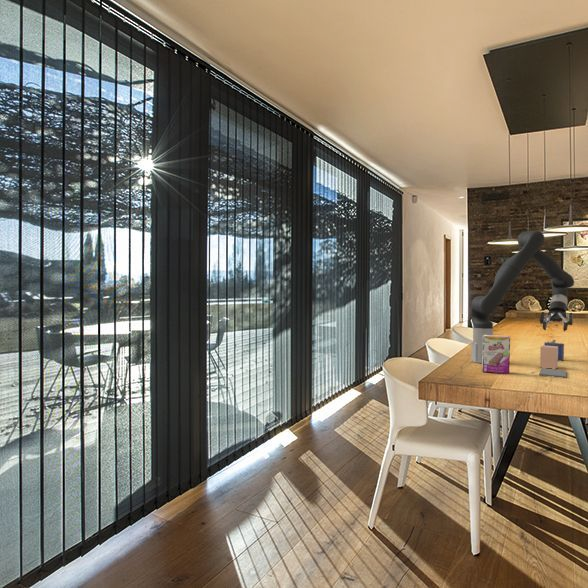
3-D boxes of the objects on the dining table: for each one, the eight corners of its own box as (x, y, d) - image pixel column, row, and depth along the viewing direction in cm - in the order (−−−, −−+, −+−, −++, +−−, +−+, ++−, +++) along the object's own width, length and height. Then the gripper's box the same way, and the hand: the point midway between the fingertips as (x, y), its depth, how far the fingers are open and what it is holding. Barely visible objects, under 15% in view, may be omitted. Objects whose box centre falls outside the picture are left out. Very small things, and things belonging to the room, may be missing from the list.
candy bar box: (482, 372, 212) (482, 335, 212) (481, 370, 217) (482, 334, 216) (509, 374, 208) (510, 336, 208) (508, 372, 213) (509, 335, 213)
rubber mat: (565, 378, 200) (565, 376, 200) (539, 375, 205) (539, 373, 205) (566, 372, 214) (566, 370, 214) (541, 370, 219) (541, 368, 219)
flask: (564, 360, 247) (564, 339, 247) (563, 361, 245) (563, 340, 244) (544, 358, 253) (544, 338, 253) (543, 359, 251) (543, 339, 250)
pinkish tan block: (540, 367, 225) (540, 346, 225) (542, 366, 230) (543, 345, 230) (555, 369, 221) (555, 347, 221) (557, 367, 226) (558, 346, 226)
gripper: (542, 300, 246) (537, 324, 237) (573, 300, 237) (570, 325, 229) (543, 309, 250) (539, 333, 242) (575, 310, 242) (571, 335, 233)
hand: (554, 329), depth 235 cm, fingers open, 8 cm apart
